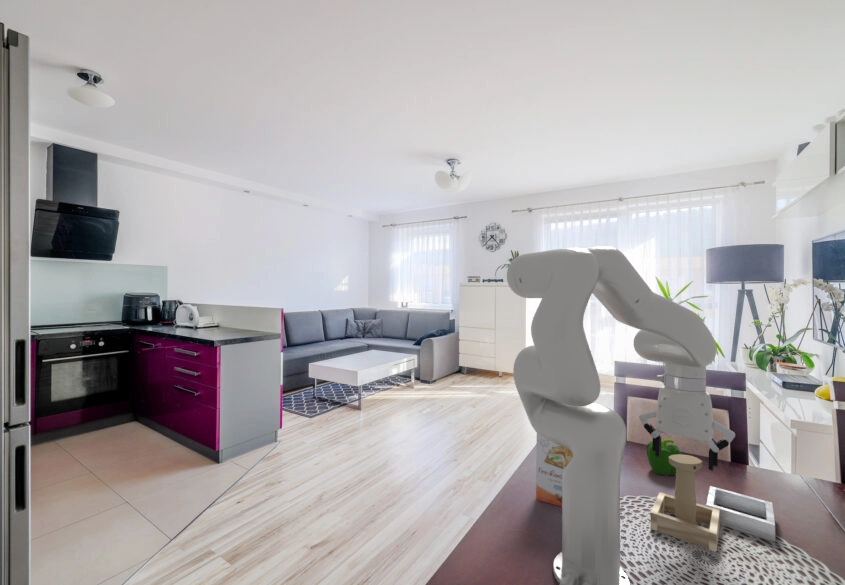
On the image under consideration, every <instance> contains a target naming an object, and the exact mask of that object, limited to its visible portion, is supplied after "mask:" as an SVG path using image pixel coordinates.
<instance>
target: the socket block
mask: <svg viewBox="0 0 845 585" xmlns="http://www.w3.org/2000/svg"><path fill="white" fill-rule="evenodd" d="M719 505H720V506H719ZM705 506H708V507H711V508H715V509H718V510H720V525H721V526H723V527H726V528H730V529H731V530H732V529H733V530H736V531H739V532H742V533H746V534H749V535H751V536H754V537H757V538H760V539H764V540H767V541H770V542H773V541H774V543H776V522H775V513H774V506H773V502H771V501H767V500H763V499H760V498H757V497H753V496H750V495H746V494H742V493H738V492H735V491H731V490H727V489H723V488H721V487H715V486H712V485H710V486H709V489H708V495H707V500H706V504H705ZM725 507H726V508H725ZM733 509H734V510H733ZM736 510H737V511H736ZM739 511H740V512H739ZM746 513H747V514H746ZM753 515H754V516H753ZM763 518H764V519H763Z"/></svg>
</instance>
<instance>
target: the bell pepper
mask: <svg viewBox="0 0 845 585" xmlns="http://www.w3.org/2000/svg"><path fill="white" fill-rule="evenodd" d="M667 443H671V444H667ZM674 443H675V440H674V439H672V438H666V439H664V440H661V454H660V456H658V457H656V456H655V451H653V450H652V444H653V440H652V441H649V442H648V444H647V445H646V455H647V460H648V463H649V466H650V467H651V469H652V471H653V472H654V473H656V474H657V475H661V476H669V475H670V476H676V468H675V467H674V466H672V465H671V464H670V463H669V456H671V455H677V454H681V455H682V453H681V451H680V449H679V447H678V445H674Z"/></svg>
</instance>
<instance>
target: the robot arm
mask: <svg viewBox="0 0 845 585" xmlns="http://www.w3.org/2000/svg"><path fill="white" fill-rule="evenodd" d="M506 282H507V284H508V286H509V288H510V290H511V291H512V292H513V293H514V294H516V295H517V296H519V297H520V298H526V299H541V300H540V302H539V304H538V306H537V308H536V311H535V313H534V316H533V317H532V321H531V325H530V334H531V339H532V342H533V345H529V346H527V347H524V348H522V349H521V351H519V352H518V354H517V355H516V358H515V360H514V363H513V372H512V374H513V375H512V376H513V380H514V385H515V388H516V391H517V393H518V396H519V398H520V400H521V402H522V406H523V408H524V410H525V413H526V416H527V418H528V420H529V423H530V425H531V427H532V429H533V430H534V431H535V433H536V435H537V434H539V435H540V436H541V437H543V438H545V439H547V440H549V441H551V442H553V443H556V444H558V445H560V446H562V447H564V448H566V449H568V450H570V451H572V452H573V458H572V460H571V461H570V462H569V463H568V465H567V466H566V467H565V469H564V471H563V475H562V507H561V512H562V514H561V522H562V523H561V524H562V525H561V539H562V540H561V551H560V552H559V553H558V554H557V555H556V556H555V558H553V562H552V563H553V565H552V566H553V568H552V569H553V570H552V571H553V575H554V578H555V580H556V579H557V580H556V581H557V583H558V582H559V583H560V584H559V583H558V585H631V582H630V579H629V577H628V575H627V574H626V572H624V570H623V569H622V568H621V474H622V473H621V472H622V471H621V470H622V462H623V457H624V453H625V447H626V444H627V443H626V442H627V437H628V436H627V435H628V434H627V426H626V424H625V421H624V419H623V418H622V417H621V415H619V414H618V413H617V412H616V411H615V410H613V409H612V408H609V407H607V406H605V405H603V404H600V403H598V402H596V400H598V398H599V397H600V394H601V381H600V376H599V372H598V370H597V366H596V364H595V361H594V357H593V355H592V351H591V349H590V345H589V342H588V340H587V335H586V332H585V328H584V318H585V316H584V315H585V312H586V309H587V306H588V303H589V301H590V298H591V297H592V294H593V296H594V297H595V298H596V299H597V301H599V302H600V303H601V305H602V306H603V307H604V308H605V309H606V311H608V314H610V315H611V316H612V318H613V319H615V320H616V321H617V322H620V323H621V324H624V325H627V326H629V327H630V328H631V327H632V328H634V329H638V330H639V331H637V333H635V336H634V339H633V348H634V351H635V352H636V353H637V355H638V356H640V357H641V358H643V359H645V360H647V361H651V362H655V363H657V362H658V363H664V373H663V374H661V375H660V374H657V375H656V380H657V382H660V383H662V384H663V385H662V386H660V387H659V392H658V396H657V401H656V402H657V403H656V410H652V411H648V412H644V413H641V414H639V415H638V416H639V417H638V418H639V421H640V422H641V424H642V425H643V428H644V430H646V432H647V433H648V434H649V435H650V437H651V438H652V442H653V444H652V450H653V451H655V456H656V457H658V456H660V454H661V441H662V434H666V435H670V436H674V437H678V438H679V437H680V438H683V439H688V440H693V441H698V442H705V444H706V445H707V446H708V447H709V450H708V470H709V471H711V472H714V467H719V465H718V463H719V459H718V458H719V456H718V455H719V451H721V450H724V449H725V448H726V447H728V446H729V445H730V443H731V442H732V441H733V440H734V438H736V433H735V431H733V430H731V429H730V428H728V427H726V426H724V425H722V424H721V423H720V422H718V421H716V420H715V419H714V412H713V403H712V398H711V395H710V392H707V387H706V386H707V366H710V365H711V364H712V363H713V361H715V358H716V355H717V343H716V341H715V338H714V336H713V335H712V332H711V331H710V329H709V328H708V326H707V325H706V324H705V322H704V321H703V320H702V319H701V317H700V316H699V315H697V313H695V312H693V311H691V309H688V308H687V307H685V306H684V305H681V304H679V303H677V302H675V301H672V300H671V299H669V298H667V297H664V296H662V295H661V294H658V293H656V292H654V291H653V290H652V289H651V288H650V286H649V285H648V284H647V283H646V282H645V280H644V279H643V277H642V276H641V275H640V273H639V272H638V271H637V269H635V267H634V266H633V265H632V263H631V262H630V261H629V259H628V258H627V257H626V256H625V254H624V253H623V252H622V251H620V250H619V249H618V248H615V247H613V246H608V245H607V246H605V245H603V246H601V245H600V246H592V247H585V248H582V247H581V248H579V247H564V248H557V249H551V250H550V249H549V250H544V251H536V252H529V253H523V254H520V255H518V256H516V257H515V258H513V259H512V261H511V262H510V264H509V265H508V268H507V270H506ZM653 418H655V427H656V428H655V427H654V426H653V425H652V424H651V423H650V421H649V420H650V419H653ZM714 429H715V430H716V431H718V432H719V433H721V434H723V435H724V436H723V438H722V439H720V440H718V441H717V440H716V439H715V438H714V437H713V435H714Z"/></svg>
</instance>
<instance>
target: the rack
mask: <svg viewBox="0 0 845 585" xmlns="http://www.w3.org/2000/svg"><path fill="white" fill-rule="evenodd" d="M665 512H668V513H671V514H674V515H676V514H675V495H671V494H667V493H665V492H661V491H659V492H658V495H657V497H656V499H655V501H654V503H653V506H652V509H651V510H650V530H651V529H652V530H653V531H657V532H659V533H662V534H665V535H668V536H671V537H674V538H676V539H678V540H682V541H683V542H684V541H685V542H688V543H689V544H694V545H695V546H699V547H701V548H704V549H707V550H710V551H712V552H715V553H717V552H718V544H719V536H720V535H719V534H720V528H721V527H720V510H718V509H715V508H711V507H708V506H706V504H705V505H704V504H701V503H697V502H696V518H695V522H698V523H703V524H705V525H707V526H709V528H706V527H704V526H700V525H698V524H696V523H695V524H692V523H689V522H686V521H683V520H680V519H677V518H676V517H674V516H670V515H669V514H666V513H665Z"/></svg>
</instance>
